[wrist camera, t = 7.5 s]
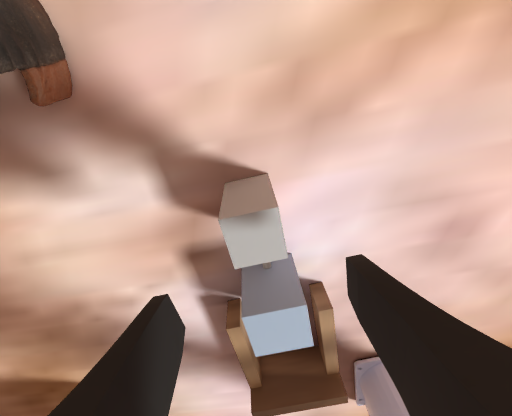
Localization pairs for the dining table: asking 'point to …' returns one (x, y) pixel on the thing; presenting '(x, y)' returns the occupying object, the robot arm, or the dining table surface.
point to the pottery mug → (33, 50)
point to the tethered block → (264, 268)
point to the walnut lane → (291, 365)
